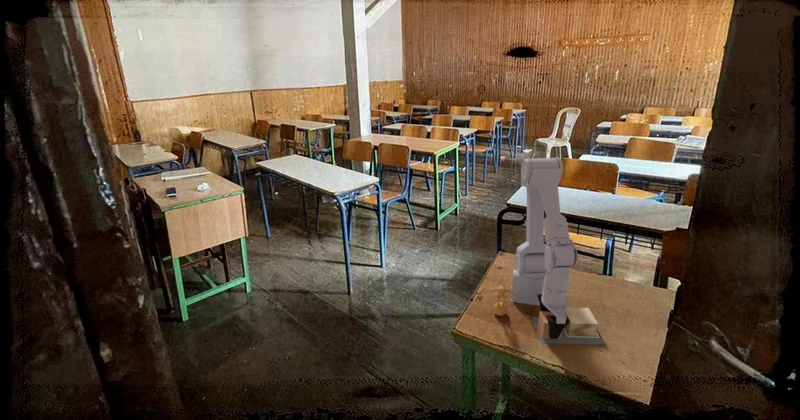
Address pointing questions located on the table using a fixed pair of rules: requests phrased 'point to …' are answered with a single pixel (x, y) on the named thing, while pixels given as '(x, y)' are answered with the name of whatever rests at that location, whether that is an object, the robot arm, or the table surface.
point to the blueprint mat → (569, 337)
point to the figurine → (499, 307)
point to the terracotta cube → (544, 324)
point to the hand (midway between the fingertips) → (549, 328)
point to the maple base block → (581, 322)
